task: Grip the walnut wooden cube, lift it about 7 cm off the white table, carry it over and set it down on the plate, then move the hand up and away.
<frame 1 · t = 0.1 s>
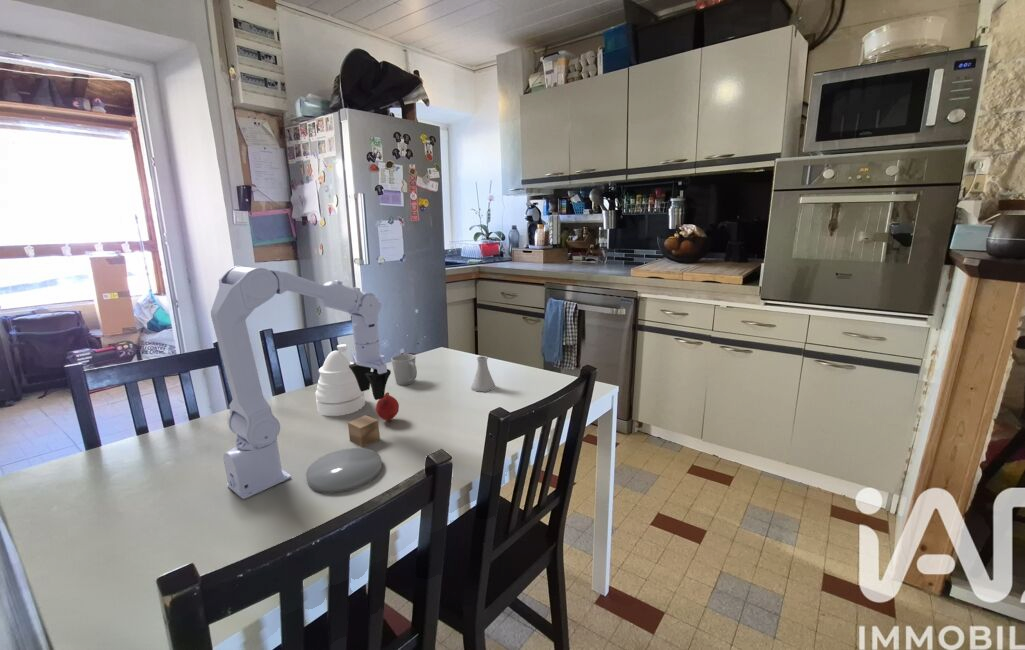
hand: (371, 394, 114), 10 cm above the table, tool pointing down, fingers open, 7 cm apart
onion: (388, 421, 122), on the table
cube: (365, 440, 112), on the table
flask: (483, 388, 143), on the table
cup: (407, 383, 148), on the table
honey pot: (341, 407, 132), on the table
plate: (345, 472, 98), on the table
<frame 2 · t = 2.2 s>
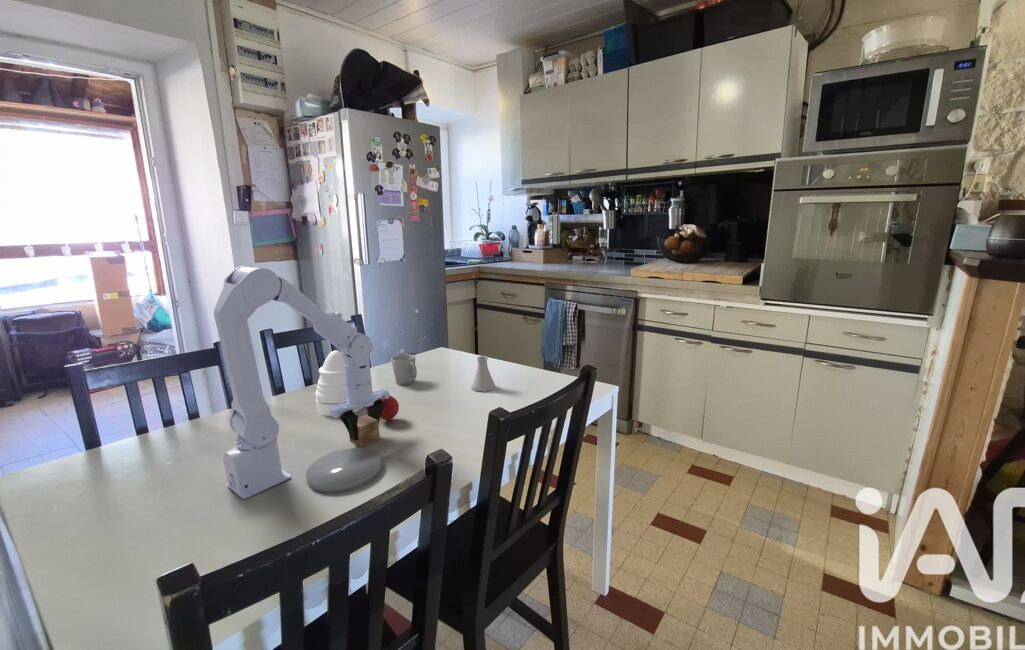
hand: (364, 434, 111), 1 cm above the table, tool pointing down, fingers closed on cube, 5 cm apart
cube: (365, 440, 112), on the table, touching gripper
everything else where it was.
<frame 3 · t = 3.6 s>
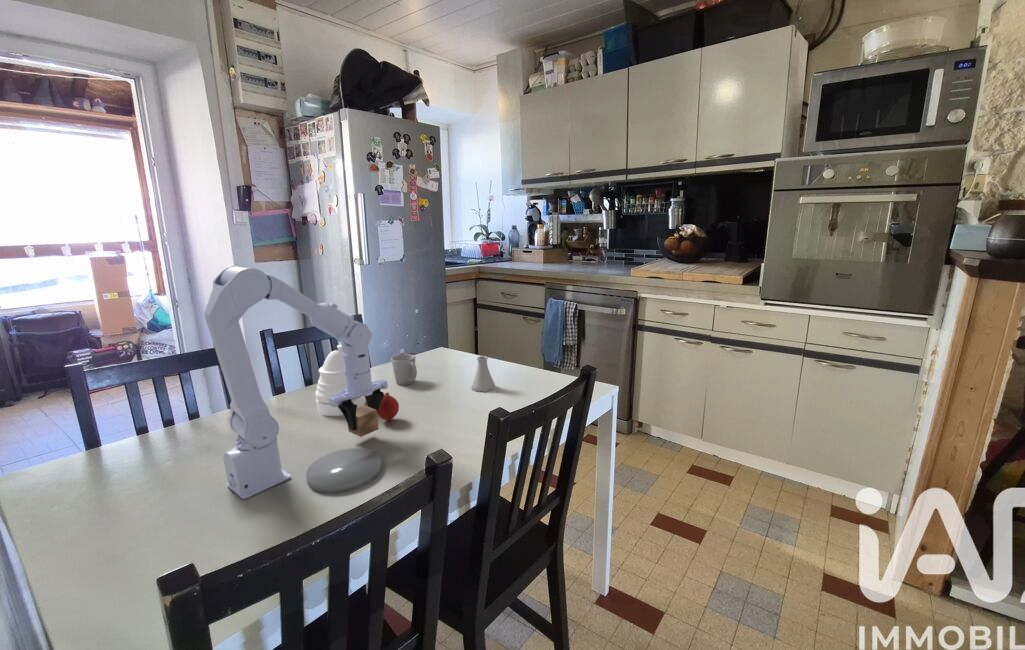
hand: (363, 424, 111), 4 cm above the table, tool pointing down, fingers closed on cube, 5 cm apart
cube: (363, 430, 111), point 3 cm above the table, touching gripper
everything else where it was.
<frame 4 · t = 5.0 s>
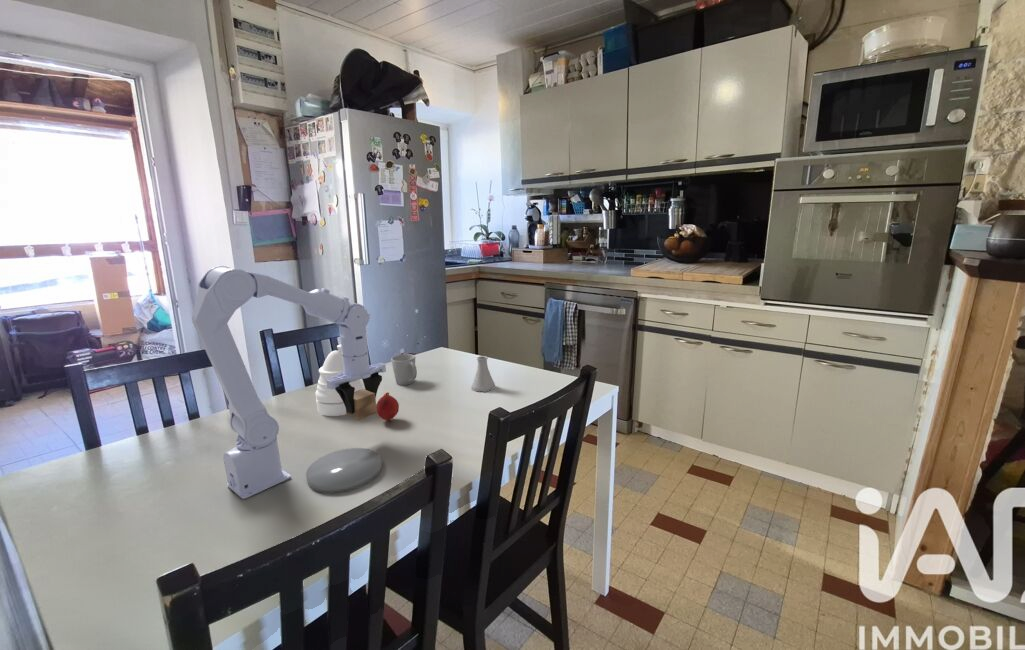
hand: (361, 408, 109), 8 cm above the table, tool pointing down, fingers closed on cube, 5 cm apart
cube: (361, 413, 110), point 7 cm above the table, touching gripper
everything else where it was.
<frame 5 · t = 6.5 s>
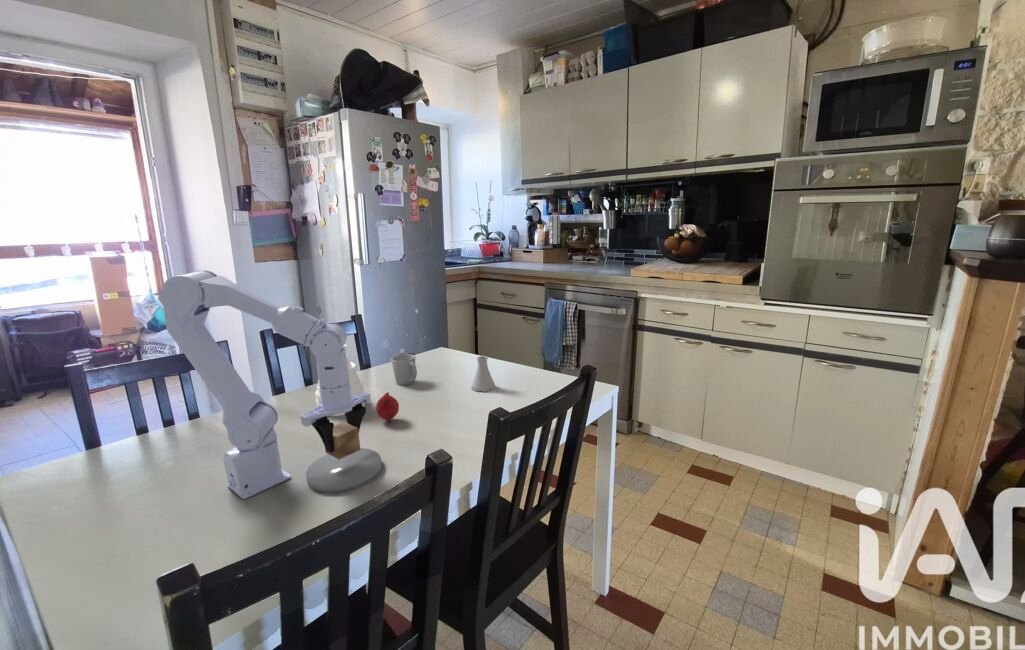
hand: (342, 444, 96), 6 cm above the table, tool pointing down, fingers closed on cube, 5 cm apart
cube: (343, 451, 97), point 5 cm above the table, touching gripper
everything else where it was.
when the fingers open (4 cm above the table, at t = 7.7 s): cube drops 1 cm, resting on plate.
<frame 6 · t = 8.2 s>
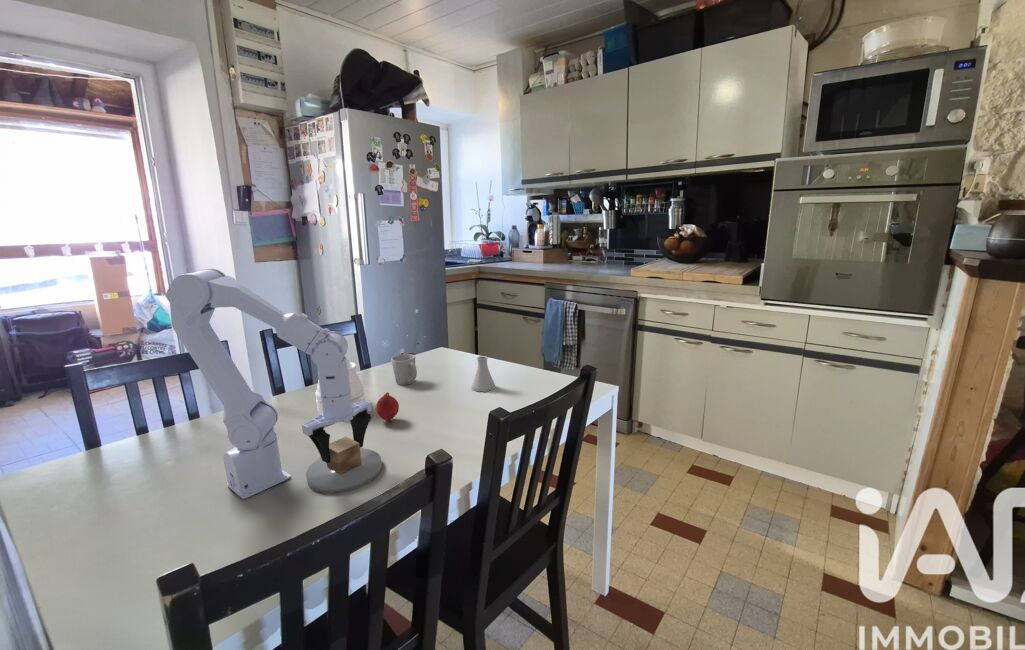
hand: (343, 453, 97), 4 cm above the table, tool pointing down, fingers open, 7 cm apart
cube: (344, 465, 97), point 1 cm above the table, touching plate
everything else where it was.
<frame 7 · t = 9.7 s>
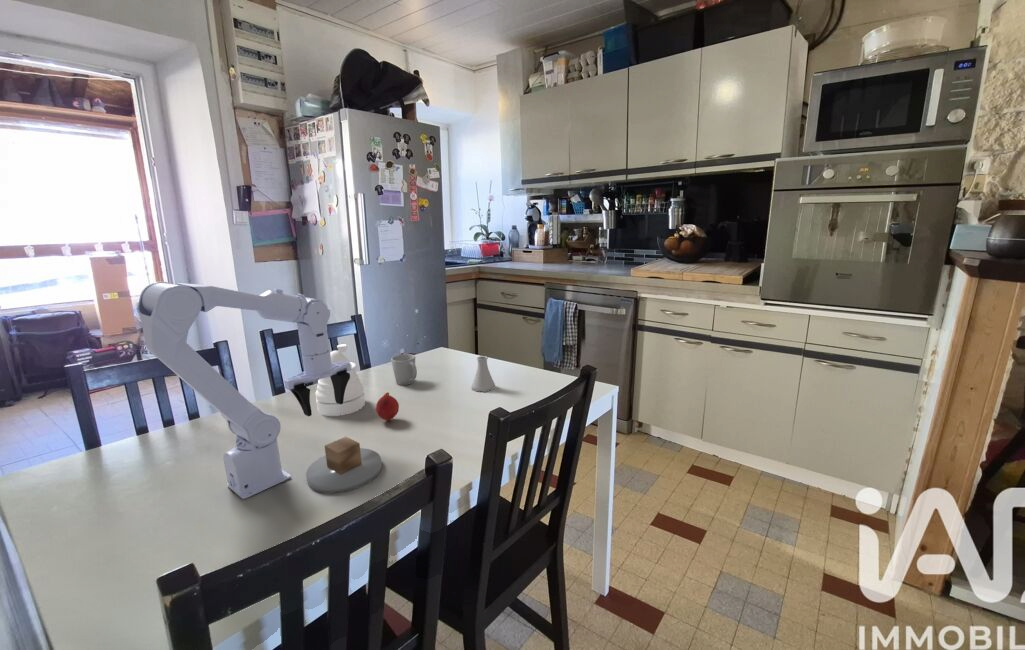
hand: (324, 408, 104), 10 cm above the table, tool pointing down, fingers open, 7 cm apart
nothing on the table moved.
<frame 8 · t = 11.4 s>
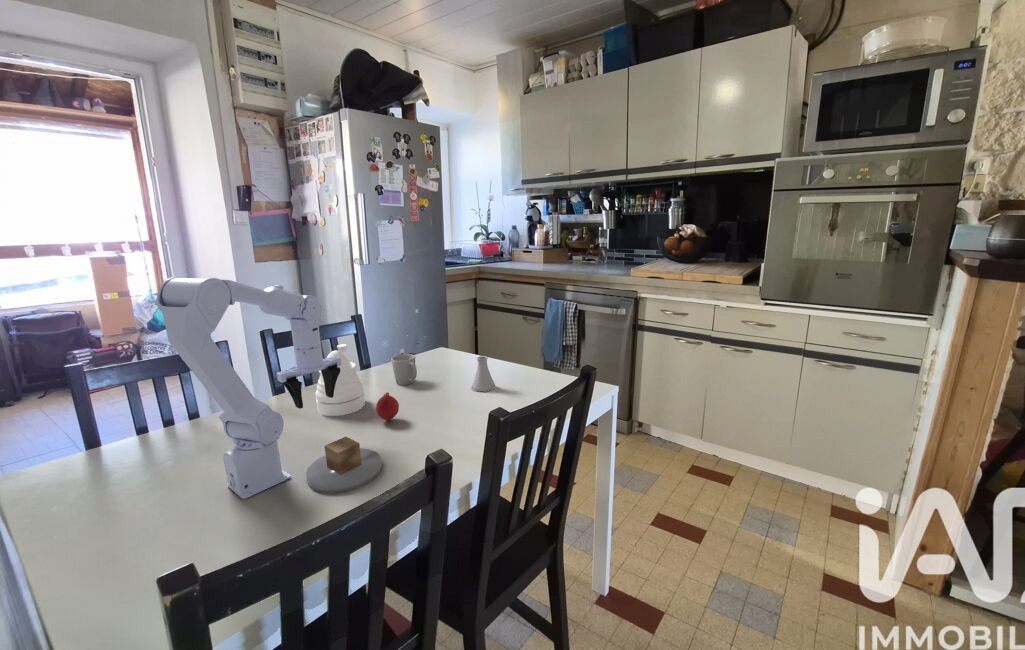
hand: (315, 401, 109), 10 cm above the table, tool pointing down, fingers open, 7 cm apart
nothing on the table moved.
at the end: cube inside the target area on the plate (0.0 cm from its centre), point 1.5 cm above the plate's base; cube touching plate; the gripper is holding nothing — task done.
